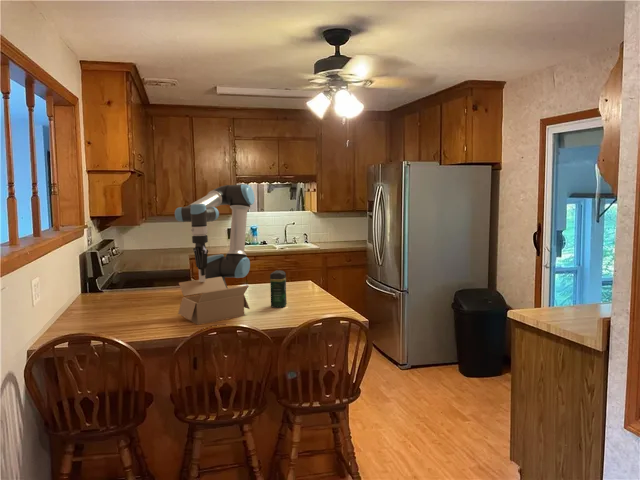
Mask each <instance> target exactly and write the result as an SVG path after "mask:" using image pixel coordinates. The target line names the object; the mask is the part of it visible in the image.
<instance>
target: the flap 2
mask: <svg viewBox="0 0 640 480" xmlns="http://www.w3.org/2000/svg"><path fill="white" fill-rule="evenodd" d="M248 288H249V285H248V284H246V285H239V286H233V287H227V288H226V289H220V290H214V291H207V292H203V293H202V294H201V295H202V296H201V298H200V300H199V303H201V302H207V301H213V300H219V299H225V298H231V297H237V296H242V295H244V296H245V293H246V292H247V290H248Z"/></svg>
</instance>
